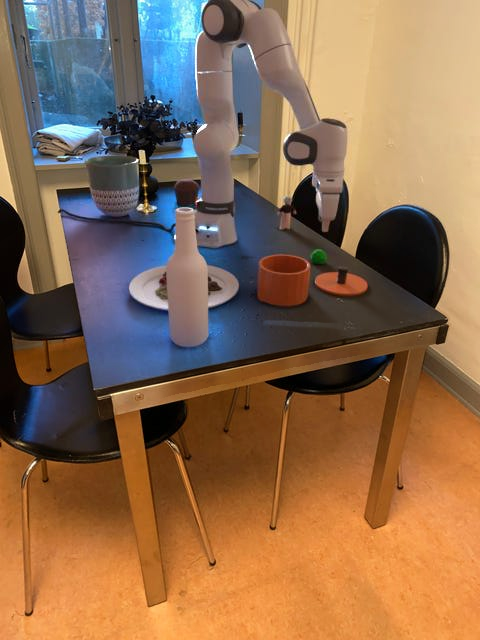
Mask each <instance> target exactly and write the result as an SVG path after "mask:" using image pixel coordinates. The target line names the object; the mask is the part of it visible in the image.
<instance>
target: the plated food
mask: <svg viewBox="0 0 480 640" xmlns="http://www.w3.org/2000/svg"><path fill="white" fill-rule="evenodd" d="M166 267H167V264H165V265H160V266H156V267H151V268H150V269H146V270H144V271H142V272H140V273H139V274H137V275H136V276H135V277H133V278H132V280H131V281H130V283H129V286H128V291H129V294H130V296H131V297H132V298H133V299H134V300H136V301H137V303H139V304H142V305H144V306H145V307H150V308H153V309H156V310H162V311H168V295H167V278H166ZM207 268H208V309H210V308H215V307H217V306H220V305H222V304H225V303H226V302H228V301H230V300H232V299H233V297H235V296H236V295H237V293H238V291H239V288H240V283H239V281H238V279H237V278H236V276H235V275H233V274H232V273H231V272H229V271H227V270H226V269H223V268H220V267H217V266H213V265H210V264H209V265H208V264H207Z"/></svg>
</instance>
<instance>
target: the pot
mask: <svg viewBox="0 0 480 640" xmlns="http://www.w3.org/2000/svg"><path fill="white" fill-rule="evenodd" d="M310 276H311V263H310V262H309V261H308V259H305V258H304V257H300V256H297V255H292V254H271V255H267V256H264V257H262V258H261V259H259V261H258V273H257V293H256V295H257V299H258V300H259V301H260V302H264V303H267V304H270V305H274V306H279V307H292V306H298V305H301V304H302V303H304V302H306V301H307V299H308V296H309V288H310V278H311V277H310Z"/></svg>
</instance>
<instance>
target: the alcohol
mask: <svg viewBox="0 0 480 640" xmlns="http://www.w3.org/2000/svg"><path fill="white" fill-rule="evenodd" d="M195 210H196V209H194V208H192V207H188V206H185V207H177V208H176V209H175V210H174V213H175V215H174V219H175V223H176V226H175V227H174V228H175V229H174V230H175V231H174V232H175V233H174V236H175V241H174V249H173V250H174V251H173V254H171V256H170V257H169V258H168V260H167V262H166V265H167V267H166V278H167V295H168V310H167V311H168V324H169V325H168V326H169V337H170V340H171V341H172V342H173V343H174V344H175V345H176V346H179V347H182V348H194V347H198V346H201V345H203V344H204V343H205V342H206V341H207V339H208V337H209V308H208V268H207V265H208V264H207V261H206V260H205V258H204V256H203V255H201V254H200V251H199V250H198V246H197V240H196V231H195V221H194V219H195V215H194V213H195Z"/></svg>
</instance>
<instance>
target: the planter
mask: <svg viewBox="0 0 480 640" xmlns="http://www.w3.org/2000/svg"><path fill="white" fill-rule="evenodd" d="M84 166H85V171H86V176H87V180H88V186H89V189H90V190H89V191H90V195H91V198H92V201H93V203H94V206H95V207H96V208H97V209H98V210H99V211H100V212H101V213H102V214H104V215H106V216H108V217H113V218H119V217H125V216H127V215H129V214H130V213H132V212H133V211H134V210H135V208H136V207H137V205H138V203H139V197H140V177H139V176H140V175H139V159H138V158H137V157H133V156H130V155H129V156H127V155H100V156H99V155H98V156H93V157H89V158H87V159H85V160H84Z"/></svg>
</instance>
